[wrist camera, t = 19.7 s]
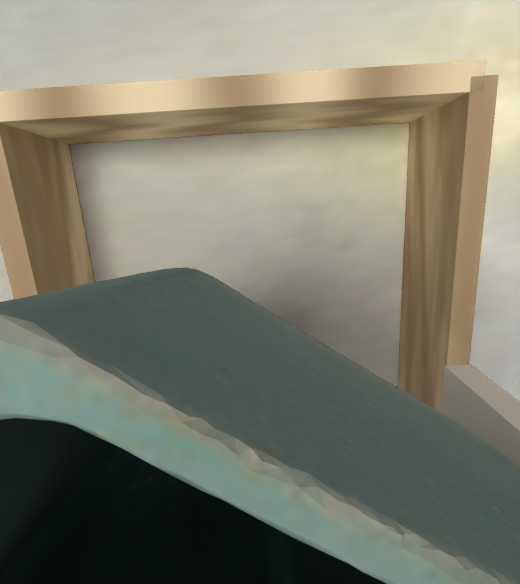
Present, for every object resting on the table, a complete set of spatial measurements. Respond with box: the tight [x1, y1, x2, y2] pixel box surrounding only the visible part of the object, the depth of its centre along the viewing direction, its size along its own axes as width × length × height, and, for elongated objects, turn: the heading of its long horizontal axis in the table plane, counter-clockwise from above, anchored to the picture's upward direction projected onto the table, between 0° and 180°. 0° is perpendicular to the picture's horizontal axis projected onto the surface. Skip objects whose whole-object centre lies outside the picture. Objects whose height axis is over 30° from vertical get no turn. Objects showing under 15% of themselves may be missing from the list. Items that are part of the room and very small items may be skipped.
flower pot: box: [0, 268, 520, 584], centre depth 7 cm, size 9×9×9 cm
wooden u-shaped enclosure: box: [0, 60, 498, 412], centre depth 20 cm, size 24×24×8 cm
